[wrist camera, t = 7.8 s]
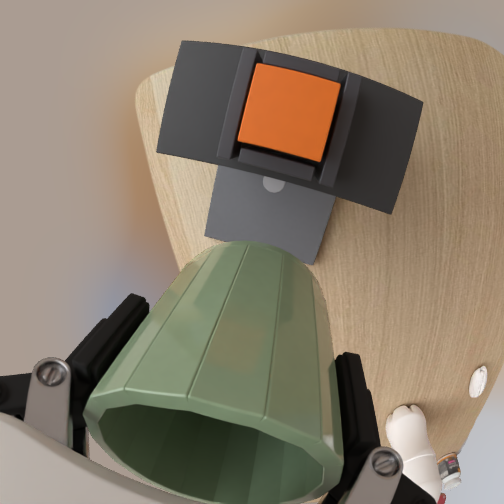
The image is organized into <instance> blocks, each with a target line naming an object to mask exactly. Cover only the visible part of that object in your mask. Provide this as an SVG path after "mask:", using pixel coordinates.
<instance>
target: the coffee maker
mask: <svg viewBox="0 0 504 504" xmlns="http://www.w3.org/2000/svg"><path fill="white" fill-rule="evenodd" d="M257 63H261V64H266V65H271V66H276V67H280V68H285V69H289V70H293V71H297V72H301V73H305V74H309V75H313V76H316V77H320V78H323V79H327V80H330V81H333V82H337V83H340V84H341V87H340V91H339V95H338V99H337V103H336V106H335V110H334V114H333V118H332V122H331V126H330V129H329V133H328V137H327V141H326V144H325V148H324V152H323V155H322V159H321V161H320V162H317V161H314V160H310V159H307V158H303V157H300V156H296V155H293V154H289V153H285V152H281V151H278V150H274V149H270V148H266V147H262V146H258V145H253V144H249V143H245V142H240V141H238V135H239V131H240V127H241V123H242V119H243V115H244V111H245V107H246V103H247V99H248V95H249V91H250V87H251V83H252V79H253V75H254V72H255V68H256V64H257ZM422 106H423V102H422V101H420V100H418V99H416V98H414V97H411V96H409V95H407V94H405V93H403V92H400V91H398V90H396V89H393V88H391V87H389V86H386V85H384V84H381V83H379V82H376V81H374V80H371V79H368V78H366V77H363V76H360V75H357V74H354V73H351V72H348V71H345V70H342V69H339V68H336V67H333V66H329V65H326V64H322V63H319V62H315V61H312V60H308V59H304V58H300V57H296V56H291V55H287V54H282V53H278V52H273V51H267V50H262V49H256V48H250V47H244V46H237V45H229V44H221V43H211V42H199V41H182V42H181V46H180V49H179V52H178V56H177V60H176V63H175V67H174V71H173V75H172V79H171V83H170V87H169V91H168V95H167V100H166V104H165V109H164V114H163V119H162V124H161V129H160V134H159V139H158V145H157V151H156V152H157V153H162V154H167V155H172V156H178V157H183V158H188V159H193V160H197V161H202V162H207V163H211V164H216V165H218V169H217V174H216V178H215V183H214V188H213V193H212V198H211V203H210V208H209V213H208V219H207V224H206V229H205V235H204V236H206V237H210V238H214V239H217V240H221V241H225V242H231V241H257V242H261V243H266V244H270V245H273V246H276V247H278V248H281V249H283V250H285V251H287V252H289V253H290V254H292V255H293V256H295V257H296V258H298V259H299V260H300V261H301V262H302V263H306V264H309V265H313V264H314V262H315V259H316V256H317V253H318V250H319V247H320V244H321V241H322V238H323V235H324V233H325V230H326V226H327V223H328V220H329V217H330V214H331V211H332V208H333V205H334V202H335V199H336V197H339V198H342V199H346V200H349V201H352V202H355V203H358V204H361V205H364V206H367V207H370V208H373V209H376V210H379V211H382V212H384V213H387V214H390V215H391V214H392V211H393V208H394V205H395V202H396V199H397V196H398V193H399V190H400V187H401V184H402V181H403V178H404V175H405V171H406V168H407V165H408V161H409V158H410V154H411V151H412V147H413V143H414V140H415V136H416V132H417V128H418V124H419V120H420V115H421V111H422Z"/></svg>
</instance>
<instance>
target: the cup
mask: <svg viewBox="0 0 504 504" xmlns="http://www.w3.org/2000/svg"><path fill="white" fill-rule="evenodd" d="M83 417H84V420H85V422H86V425H87V427H88V429H89V432H90V434H91V436H92V438H93V439H94V440H95V441H96V442H97V443H98V444H99V445H100V446H101V448H102V449H103V450H104V451H105V452H106V453H107V454H108V455H109V456H110V457H111V458H112V459H114V461H116V462H117V463H119V464H120V465H122V466H123V467H124V468H126V469H127V470H128V471H130V472H131V473H133V474H134V475H136V476H138V477H139V478H141V479H143V480H144V481H146V482H148V483H150V484H152V485H154V486H157V487H159V488H161V489H163V490H166V491H168V492H170V493H172V494H175V495H178V496H181V497H184V498H187V499H191V500H195V501H198V502H202V503H206V504H300V503H304V502H307V501H311V500H314V499H317V498H319V497H321V496H322V495H324V494H325V493H327V492H328V491H330V490H331V489H332V488H334V487H335V486H336V485H338V484H339V483H340V480H341V476H342V471H343V466H344V453H343V438H342V426H341V414H340V404H339V394H338V385H337V376H336V368H335V360H334V352H333V344H332V337H331V330H330V323H329V317H328V310H327V304H326V300H325V298H324V295H323V292H322V289H321V287H320V284H319V282H318V280H317V279H316V277H315V276H314V274H313V273H312V272H311V271H310V270H309V268H308V267H307V266H306V265H305V264H304V263H302V262H301V261H300V260H299V259H298V258H296V257H295V256H293V255H292V254H290V253H289V252H287V251H285V250H283V249H281V248H278V247H276V246H273V245H270V244H266V243H261V242H257V241H231V242H226V243H221V244H218V245H215V246H212V247H210V248H208V249H206V250H204V251H203V252H201V253H200V254H198V255H197V256H196V257H194V258H193V259H192V260H191V261H190V262H189V263H188V264H186V266H185V267H184V268H183V269H182V271H181V272H180V273H179V275H178V276H177V277H176V278H175V280H174V281H173V282H172V284H171V285H170V286H169V288H168V289H167V290H166V291H165V293H164V294H163V295H162V297H161V298H160V299H159V301H158V302H157V303H156V305H155V306H154V307H153V308H152V310H151V311H150V312H149V314H148V315H147V316H146V318H145V319H144V320H143V322H142V323H141V324H140V326H139V327H138V329H137V330H136V331H135V333H134V334H133V335H132V337H131V338H130V339H129V341H128V342H127V344H126V345H125V346H124V348H123V349H122V350H121V352H120V353H119V355H118V356H117V357H116V359H115V360H114V362H113V363H112V364H111V366H110V367H109V369H108V370H107V372H106V373H105V374H104V376H103V377H102V379H101V380H100V382H99V383H98V384H97V386H96V387H95V389H94V390H93V392H92V393H91V395H90V397H89V399H88V401H87V403H86V406H85V408H84V410H83Z"/></svg>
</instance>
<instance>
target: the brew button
mask: <svg viewBox="0 0 504 504" xmlns="http://www.w3.org/2000/svg"><path fill="white" fill-rule="evenodd" d="M340 87H341V84H340V83H337V82H333V81H330V80H327V79H323V78H320V77H316V76H313V75H309V74H305V73H301V72H297V71H293V70H289V69H285V68H280V67H276V66H271V65H266V64H261V63H257V64H256V68H255V72H254V75H253V79H252V83H251V87H250V91H249V95H248V99H247V103H246V107H245V111H244V115H243V119H242V123H241V127H240V131H239V135H238V141H240V142H245V143H249V144H253V145H258V146H262V147H266V148H270V149H274V150H278V151H281V152H285V153H289V154H293V155H296V156H300V157H303V158H307V159H310V160H314V161H317V162H320V161H321V159H322V155H323V152H324V148H325V144H326V141H327V137H328V133H329V129H330V126H331V122H332V118H333V114H334V110H335V106H336V103H337V99H338V95H339V91H340Z"/></svg>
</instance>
